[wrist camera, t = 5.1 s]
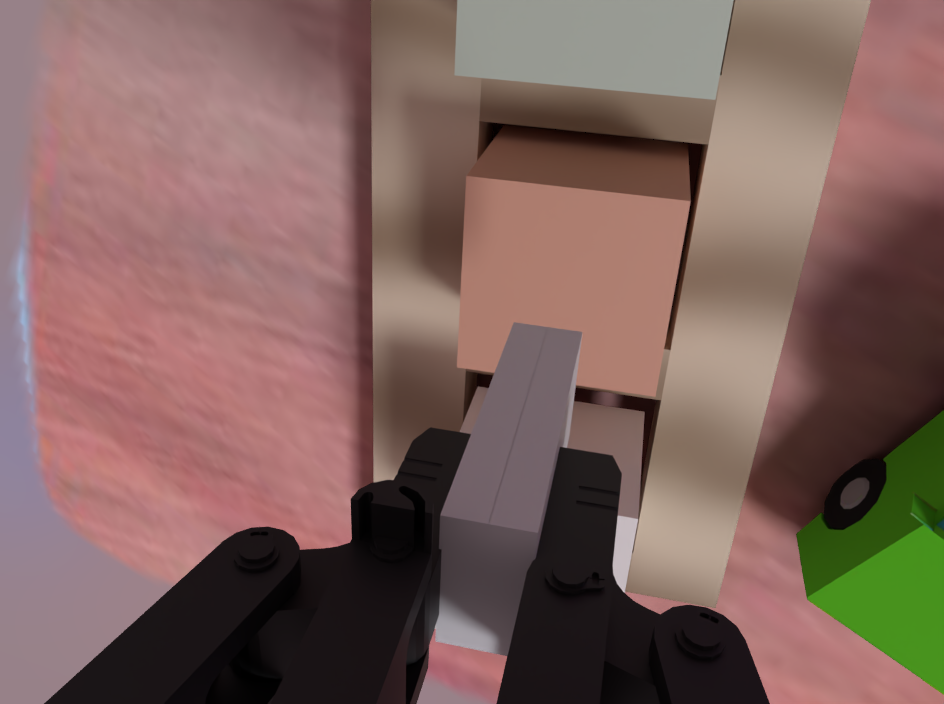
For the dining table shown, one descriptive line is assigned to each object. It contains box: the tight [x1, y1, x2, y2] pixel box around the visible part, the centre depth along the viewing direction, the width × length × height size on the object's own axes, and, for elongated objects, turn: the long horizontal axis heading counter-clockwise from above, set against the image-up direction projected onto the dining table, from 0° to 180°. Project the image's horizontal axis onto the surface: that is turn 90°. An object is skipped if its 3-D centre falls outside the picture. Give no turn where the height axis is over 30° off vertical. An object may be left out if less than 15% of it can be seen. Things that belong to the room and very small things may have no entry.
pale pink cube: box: [435, 387, 645, 629], centre depth 29 cm, size 6×6×6 cm
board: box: [371, 0, 871, 608], centre depth 29 cm, size 29×14×3 cm, turn 177°
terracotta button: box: [457, 125, 691, 397], centre depth 27 cm, size 6×6×6 cm
